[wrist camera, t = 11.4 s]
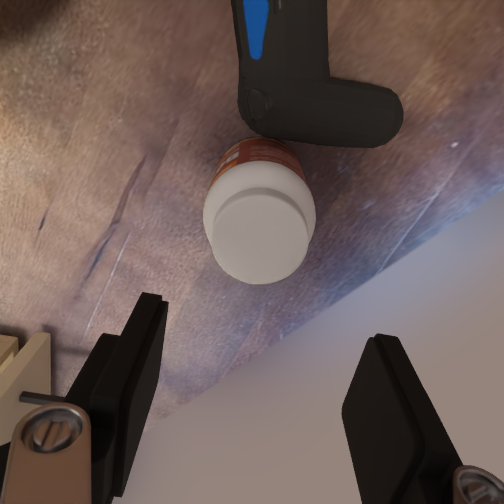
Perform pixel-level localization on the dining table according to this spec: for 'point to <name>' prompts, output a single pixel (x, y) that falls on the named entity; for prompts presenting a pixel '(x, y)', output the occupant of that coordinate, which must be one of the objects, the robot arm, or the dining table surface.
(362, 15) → the dining table surface
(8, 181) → the dining table surface
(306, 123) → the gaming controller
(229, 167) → the pill bottle
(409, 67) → the dining table surface
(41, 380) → the drawer
